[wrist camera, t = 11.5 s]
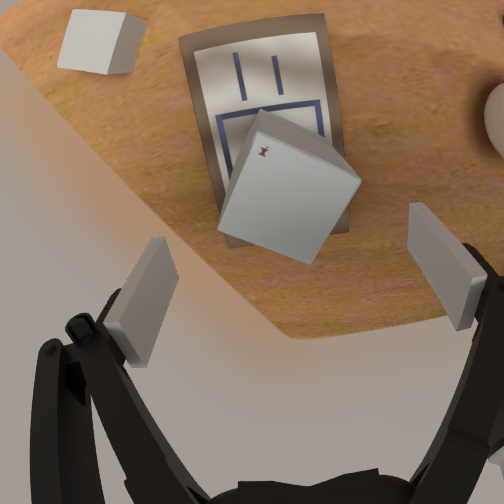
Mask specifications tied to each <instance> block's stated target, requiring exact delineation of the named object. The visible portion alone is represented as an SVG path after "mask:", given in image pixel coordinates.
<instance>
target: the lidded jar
mask: <svg viewBox="0 0 504 504" xmlns="http://www.w3.org/2000/svg"><path fill="white" fill-rule="evenodd" d="M484 121H485V127H486V131H487V134H488V137H489V139H490V141H491V143H492V144H493V146H494V148H495V149H496V150H497V152H498V153H499V154H500V155H501V156H502V157H503V158H504V82H503V83H501V84H499V85H498V86H496V87H495V88H494V89H493V90H492V92H491V93H490V95H489V97H488V99H487V101H486V103H485V107H484Z"/></svg>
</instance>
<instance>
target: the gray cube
mask: <svg viewBox="0 0 504 504" xmlns="http://www.w3.org/2000/svg"><path fill="white" fill-rule="evenodd" d="M148 23H149V21H147V20H144V19H141V18H139V17H136V16H133V15H130V14H128V13H122V12H111V11H98V10H77V9H73V11H72V14H71V17H70V20H69V24H68V27H67V30H66V33H65V37H64V40H63V44H62V48H61V51H60V55H59V59H58V63H57V67H59V68H67V69H74V70H81V71H87V72H94V73H99V74H105V75H110V74H124V73H132V72H133V68H134V65H135V62H136V59H137V55H138V52H139V49H140V46H141V43H142V40H143V37H144V34H145V32H146V29H147V26H148Z"/></svg>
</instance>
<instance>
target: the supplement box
mask: <svg viewBox="0 0 504 504" xmlns="http://www.w3.org/2000/svg"><path fill="white" fill-rule="evenodd" d="M361 182H362V180H361V179H360V177H359V176H358V175H357V174H356V172H355V171H354V170H353V169H352V168H351V166H350V165H349V164H348V163H347V162H346V161H345V160H344V159H343V157H342V156H341V155H340V154H339V153H338V152H337V151H336V150H335V149H334V148H333V146H332V145H331V144H330V143H329V142H328V141H327V140H326V139H325V138H324V137H322V136H321V135H319V134H317V133H315V132H313V131H311V130H308V129H306V128H304V127H302V126H300V125H298V124H296V123H293V122H291V121H289V120H286V119H284V118H282V117H279V116H277V115H275V114H272V113H270V112H267V111H265V110H262V109H259V111H258V113H257V115H256V117H255V119H254V121H253V124H252V126H251V128H250V130H249V132H248V134H247V137H246V139H245V141H244V143H243V146H242V148H241V150H240V153H239V155H238V158H237V160H236V163H235V165H234V168H233V170H232V174H231V178H230V182H229V185H228V189H227V193H226V196H225V200H224V203H223V207H222V211H221V215H220V219H219V223H218V227H217V230H218V231H220V232H223V233H226V234H228V235H231V236H234V237H236V238H239V239H242V240H244V241H247V242H250V243H252V244H255V245H258V246H260V247H263V248H266V249H268V250H271V251H274V252H276V253H279V254H282V255H284V256H287V257H290V258H292V259H295V260H297V261H300V262H303V263H305V264H308V265H311V264H312V262H313V260H314V259H315V257H316V256H317V254H318V252H319V251H320V249H321V247H322V246H323V244H324V242H325V241H326V239H327V238H328V236H329V234H330V233H331V231H332V229H333V228H334V226H335V225H336V223H337V221H338V220H339V218H340V217H341V215H342V213H343V212H344V210H345V209H346V207H347V205H348V204H349V202H350V201H351V199H352V197H353V196H354V194H355V192H356V191H357V189H358V187H359V186H360V184H361Z"/></svg>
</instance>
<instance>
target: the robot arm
mask: <svg viewBox="0 0 504 504" xmlns="http://www.w3.org/2000/svg"><path fill="white" fill-rule="evenodd" d="M407 249H408V251H409V252H410V254H411V255H412V257H413V259H414V260H415V262H416V263H417V265H418V266H419V268H420V269H421V271H422V273H423V274H424V276H425V277H426V279H427V281H428V282H429V284H430V286H431V287H432V289H433V291H434V292H435V294H436V296H437V297H438V299H439V301H440V303H441V304H442V306H443V308H444V309H445V311H446V313H447V315H448V317H449V318H450V320H451V322H452V324H453V326H454V328H455V329H456V331H459V330H463V329H467V328H470V327H471V325H472V323H473V320H474V317H475V318H476V320H477V321H478V326H477V329H476V331H475V334H474V336H473V339H472V345H471V349H470V352H469V355H468V358H467V361H466V364H465V367H464V370H463V373H462V375H461V378H460V381H459V383H458V386H457V389H456V391H455V393H454V396H453V399H452V401H451V403H450V406H449V408H448V410H447V413H446V415H445V417H444V419H443V421H442V423H441V426H440V428H439V430H438V432H437V434H436V436H435V438H434V440H433V442H432V444H431V446H430V448H429V450H428V451H427V453H426V455H425V457H424V459H423V461H422V462H421V464H420V466H419V467H418V468H417V470H416V472H415V473H414V475H413V476H412V478H411V479H410V481H409V482H408V481H406V480H403V479H401V478H398V477H394V476H389V475H379V472H378V468H376V469H371V470H366V471H360V472H355V473H348V474H343V475H341V476H338V477H336V478H333V479H330V480H327V481H324V482H321V483H318V484H315V485H312V486H299V485H293V484H287V483H281V482H275V481H238V488H235V489H232V490H229V491H226V492H224V493H221V494H219V495H217V496H215V497H213V498H212V499H211V498H210V497H209V496H208V495H207V494H206V493H205V492H204V491H203V489H202V488H201V487H200V486H199V485H198V484H197V483H196V481H195V480H194V479H193V477H192V476H191V475H190V473H189V472H188V471H187V469H186V468H185V466H184V465H183V463H182V462H181V461H180V459H179V458H178V456H177V455H176V453H175V452H174V450H173V449H172V447H171V446H170V444H169V443H168V441H167V440H166V438H165V437H164V435H163V433H162V432H161V430H160V429H159V427H158V426H157V424H156V422H155V421H154V419H153V417H152V416H151V414H150V412H149V411H148V409H147V407H146V406H145V404H144V402H143V400H142V399H141V397H140V395H139V394H138V392H137V390H136V388H135V386H134V384H133V382H132V380H131V379H130V377H129V375H128V373H127V371H126V369H125V368H124V367H123V365H124V362H125V360H127V362H128V363H129V365H130V366H131V367H133V368H146V367H147V364H148V361H149V358H150V356H151V353H152V350H153V347H154V344H155V341H156V339H157V336H158V333H159V330H160V327H161V325H162V322H163V319H164V317H165V314H166V311H167V308H168V306H169V303H170V300H171V298H172V295H173V292H174V290H175V287H176V285H177V282H178V279H179V276H178V273H177V270H176V268H175V265H174V262H173V259H172V257H171V254H170V251H169V248H168V246H167V243H166V240H165V237H158V238H152V239H151V241H150V242H149V244H148V246H147V247H146V249H145V251H144V252H143V254H142V256H141V257H140V259H139V261H138V262H137V264H136V265H135V267H134V269H133V271H132V272H131V274H130V275H129V277H128V279H127V281H126V282H125V284H124V286H123V287H122V288H120V289H117V290H116V291H115V292H114V293H113V294H112V295H111V296H110V298H109V300H108V301H107V304H106V305H105V307H104V308H103V309H104V310H102V312H101V314H100V315H99V317H98V319H97V321H96V323H95V322H94V320H93V318H92V317H91V315H90V314H89V313H80V314H78V315H76V316H74V317H73V318H72V319H70V320H69V322H68V323H67V325H66V327H65V331H66V333H67V334H68V336H69V337H70V339H71V340H72V341H73V343H72V344H69V345H65V346H64V345H63V344H62V342H61V341H60V340H59V339H56V338H54V339H50V340H49V341H47V342H45V343H44V344H43V345H42V347H41V348H40V350H39V354H38V360H37V366H36V374H35V381H34V390H33V400H32V412H31V428H30V485H31V501H32V504H105V500H104V496H103V490H102V485H101V480H100V474H99V468H98V462H97V455H96V447H95V439H94V430H93V421H92V410H91V397H92V399H93V402H94V405H95V407H96V410H97V412H98V415H99V417H100V420H101V422H102V425H103V427H104V430H105V432H106V434H107V437H108V439H109V441H110V443H111V445H112V448H113V450H114V452H115V454H116V456H117V458H118V460H119V462H120V464H121V466H122V469H123V470H124V472H125V474H126V478H127V479H126V480H125V481H124V484H125V487H126V489H127V491H128V493H129V495H130V497H131V499H132V500H133V502H134V504H467V502H468V500H469V498H470V496H471V494H472V492H473V490H474V488H475V485H476V483H477V481H478V479H479V476H480V474H481V472H482V469H483V467H484V464H485V462H486V460H487V458H488V461H489V462H490V463H493V464H497V465H499V466H500V468H501V472H502V475H503V479H504V276H499V275H498V274H497V273H496V272H495V270H494V269H493V268H492V267H491V266H490V265H489V263H488V262H487V261H485V259H484V258H483V256H481V254H480V253H479V252H478V251H477V250H476V249H475V248H474V247H473V246H471V245H469V244H468V243H462V244H461V243H460V241H459V240H458V239H457V238H456V237H455V236H454V235H453V234H452V233H451V231H450V230H449V229H448V228H447V227H446V226H445V225H444V224H443V223H442V222H441V221H440V220H439V219H438V218H437V217H436V216H435V215H434V214H433V213H432V212H431V211H430V210H429V209H428V208H427V207H426V206H425V205H424V204H423V203H422V202H416V203H409V223H408V238H407Z"/></svg>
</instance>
